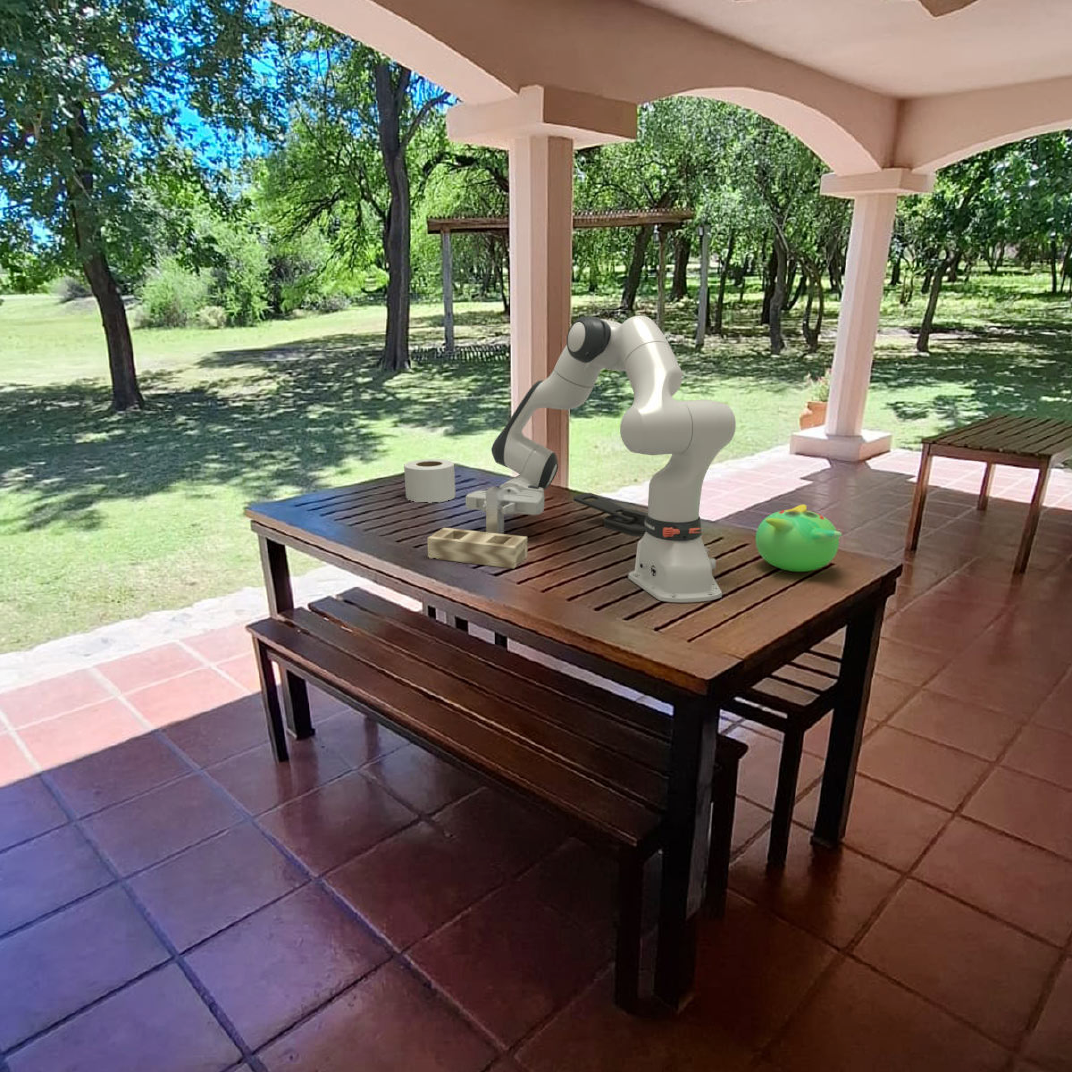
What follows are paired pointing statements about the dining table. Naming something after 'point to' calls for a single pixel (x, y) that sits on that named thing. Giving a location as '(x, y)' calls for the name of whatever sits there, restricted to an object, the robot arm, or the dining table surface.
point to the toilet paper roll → (429, 480)
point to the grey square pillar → (494, 510)
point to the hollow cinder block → (477, 547)
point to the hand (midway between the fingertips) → (493, 510)
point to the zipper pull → (616, 515)
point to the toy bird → (797, 540)
